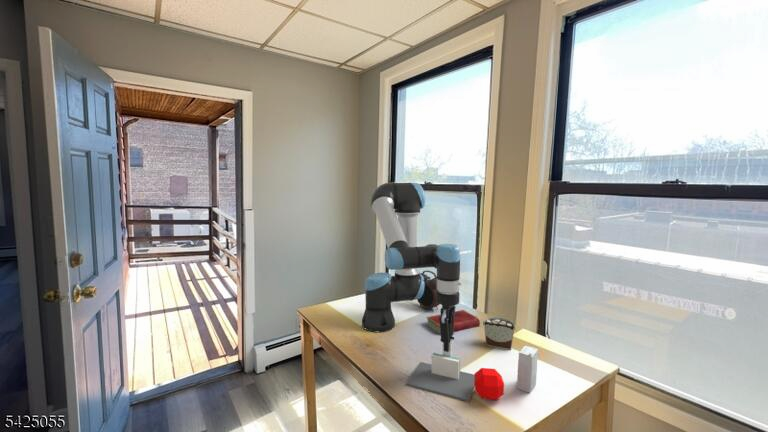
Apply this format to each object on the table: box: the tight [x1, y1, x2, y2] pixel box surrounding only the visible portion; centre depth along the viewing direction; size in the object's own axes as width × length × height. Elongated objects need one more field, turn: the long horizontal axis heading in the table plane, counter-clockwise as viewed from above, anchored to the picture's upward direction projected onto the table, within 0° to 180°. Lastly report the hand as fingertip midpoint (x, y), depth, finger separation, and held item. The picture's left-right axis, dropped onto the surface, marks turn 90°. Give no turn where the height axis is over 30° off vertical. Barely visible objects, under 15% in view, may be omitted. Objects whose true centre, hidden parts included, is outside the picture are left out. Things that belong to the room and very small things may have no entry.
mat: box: [405, 361, 475, 403], centre depth 108 cm, size 20×14×1 cm
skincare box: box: [516, 345, 539, 394], centre depth 104 cm, size 6×4×12 cm
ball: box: [474, 367, 505, 401], centre depth 100 cm, size 8×8×8 cm
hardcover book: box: [426, 309, 481, 335], centre depth 150 cm, size 12×21×4 cm, turn 115°
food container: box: [482, 316, 517, 351], centre depth 132 cm, size 12×6×10 cm, turn 65°
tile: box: [431, 352, 461, 379], centre depth 110 cm, size 9×2×6 cm, turn 65°
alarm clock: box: [416, 270, 441, 313], centre depth 169 cm, size 14×7×20 cm, turn 41°
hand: (447, 358), depth 112 cm, fingers closed
